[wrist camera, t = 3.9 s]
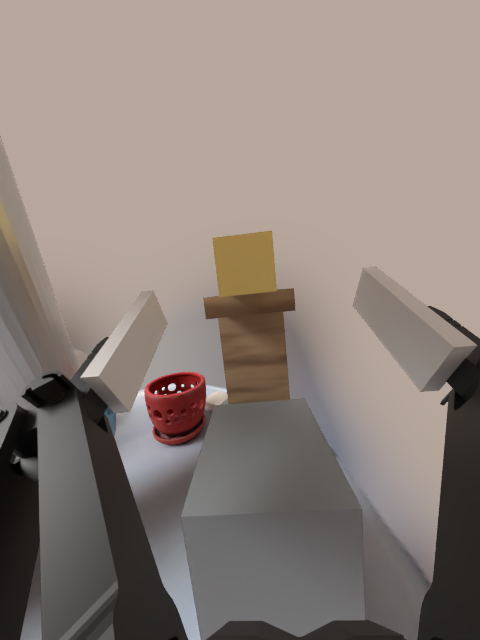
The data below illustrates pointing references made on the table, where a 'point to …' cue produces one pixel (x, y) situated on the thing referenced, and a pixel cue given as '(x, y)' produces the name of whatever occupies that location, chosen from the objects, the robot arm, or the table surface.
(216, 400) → the digit tile cream
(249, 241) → the number bar
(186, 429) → the plant pot
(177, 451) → the table surface
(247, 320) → the shelf stand
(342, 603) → the gray rectangular block
